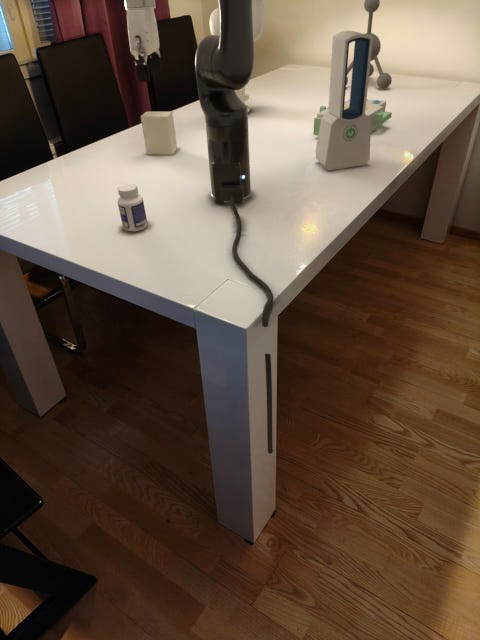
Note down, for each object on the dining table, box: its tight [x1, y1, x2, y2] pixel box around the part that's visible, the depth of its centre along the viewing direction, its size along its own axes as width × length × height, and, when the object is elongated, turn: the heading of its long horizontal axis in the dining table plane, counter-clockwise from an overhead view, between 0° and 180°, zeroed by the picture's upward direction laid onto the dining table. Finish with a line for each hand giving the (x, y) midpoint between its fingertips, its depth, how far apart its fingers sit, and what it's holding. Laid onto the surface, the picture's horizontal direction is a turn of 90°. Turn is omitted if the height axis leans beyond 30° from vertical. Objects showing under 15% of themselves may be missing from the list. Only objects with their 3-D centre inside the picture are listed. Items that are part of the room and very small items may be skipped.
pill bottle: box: [117, 182, 148, 232], centre depth 102 cm, size 5×5×9 cm
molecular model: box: [346, 0, 393, 90], centre depth 184 cm, size 24×22×30 cm
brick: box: [140, 111, 178, 156], centre depth 140 cm, size 5×8×11 cm, turn 79°
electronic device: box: [315, 30, 373, 171], centre depth 119 cm, size 12×8×30 cm, turn 105°
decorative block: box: [313, 98, 393, 136], centre depth 149 cm, size 26×6×20 cm
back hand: (150, 77), depth 131 cm, fingers open, 9 cm apart
